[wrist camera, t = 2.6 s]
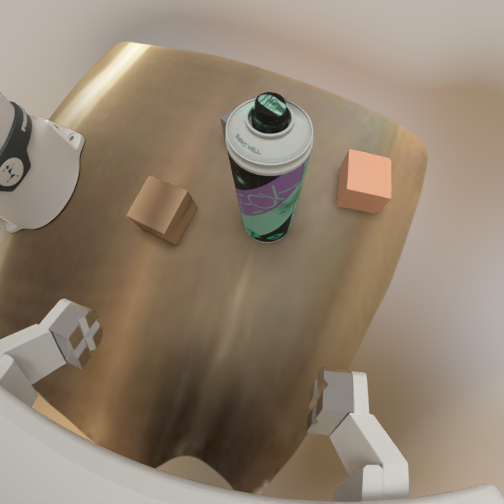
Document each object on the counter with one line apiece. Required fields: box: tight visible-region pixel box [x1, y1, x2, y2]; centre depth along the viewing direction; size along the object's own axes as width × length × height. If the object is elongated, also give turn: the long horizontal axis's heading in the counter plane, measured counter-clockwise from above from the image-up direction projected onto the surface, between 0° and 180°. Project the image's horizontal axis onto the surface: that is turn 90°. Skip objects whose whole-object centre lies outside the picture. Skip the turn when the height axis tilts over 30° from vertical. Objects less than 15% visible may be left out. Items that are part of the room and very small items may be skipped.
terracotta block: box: [337, 149, 391, 214], centre depth 32 cm, size 5×5×5 cm
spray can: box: [225, 92, 313, 243], centre depth 24 cm, size 6×6×20 cm
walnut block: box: [126, 176, 197, 246], centre depth 32 cm, size 5×5×5 cm
